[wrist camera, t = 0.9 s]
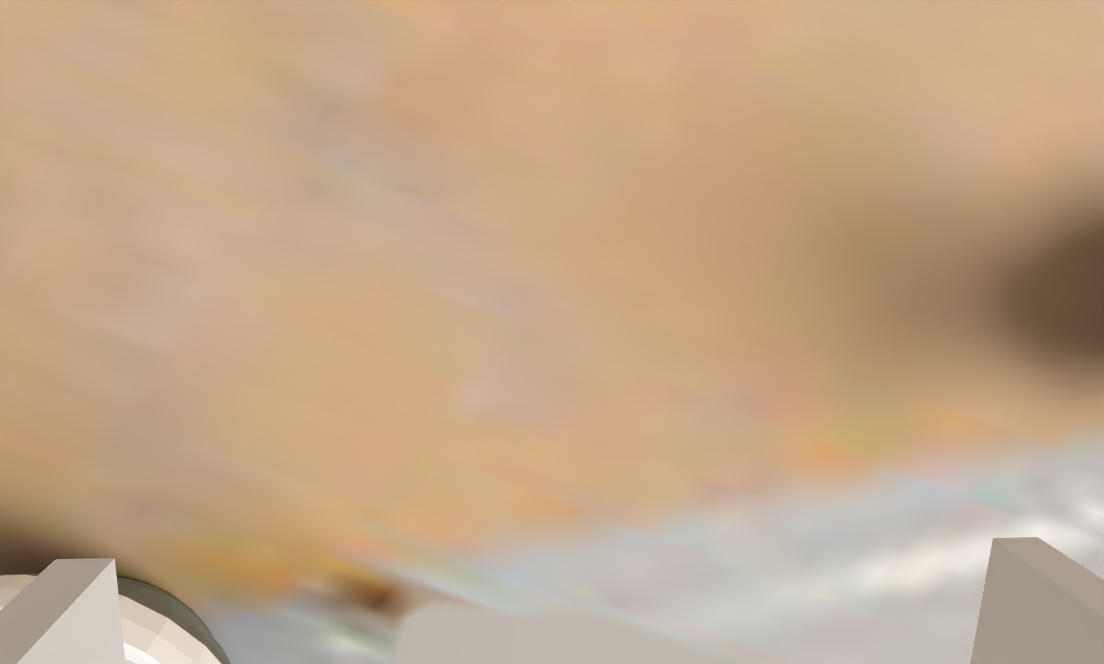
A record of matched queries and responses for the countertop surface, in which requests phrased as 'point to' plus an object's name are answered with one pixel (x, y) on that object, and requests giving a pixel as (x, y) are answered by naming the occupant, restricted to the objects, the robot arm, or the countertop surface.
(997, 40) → the countertop surface
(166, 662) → the bowl
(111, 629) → the robot arm
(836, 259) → the countertop surface
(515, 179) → the countertop surface
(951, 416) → the countertop surface
